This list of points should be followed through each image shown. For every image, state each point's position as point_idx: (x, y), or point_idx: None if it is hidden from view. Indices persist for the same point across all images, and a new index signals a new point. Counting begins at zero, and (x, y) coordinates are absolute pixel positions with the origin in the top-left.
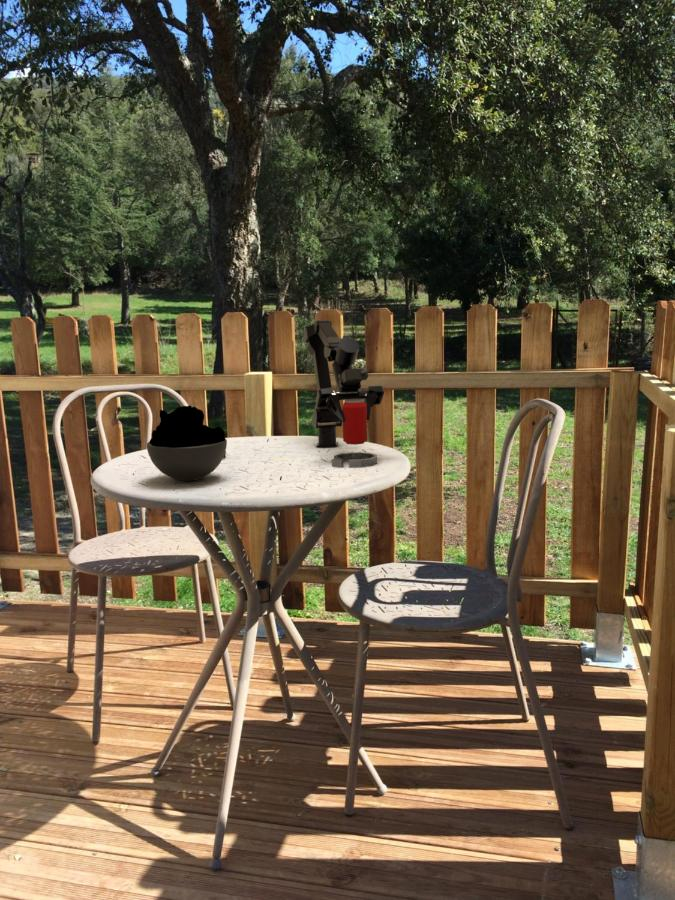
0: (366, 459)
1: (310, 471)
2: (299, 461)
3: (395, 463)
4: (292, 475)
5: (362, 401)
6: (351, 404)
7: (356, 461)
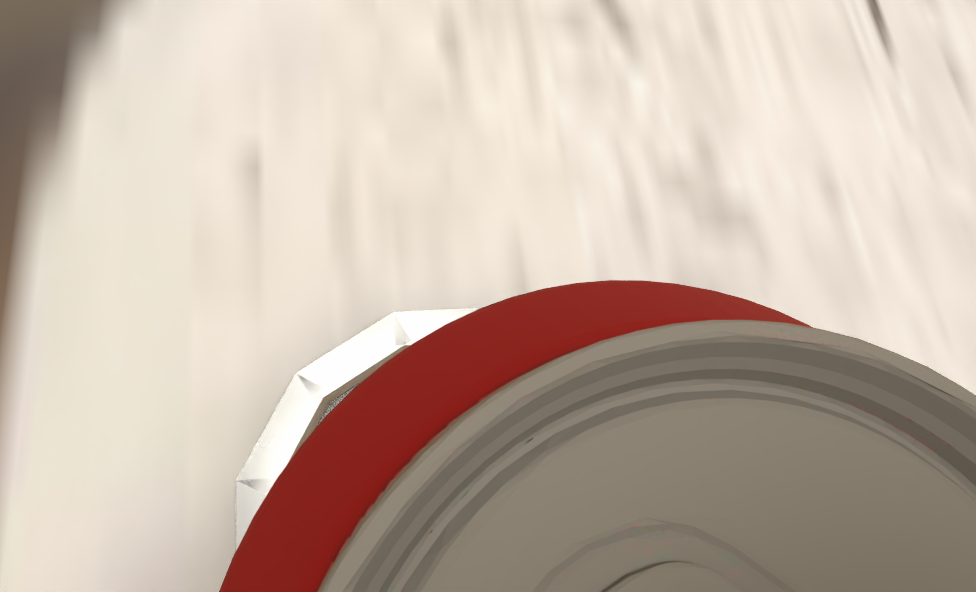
0: (341, 345)
1: (750, 184)
2: None
3: (66, 521)
4: (828, 65)
5: (329, 564)
6: (751, 315)
7: (433, 311)
